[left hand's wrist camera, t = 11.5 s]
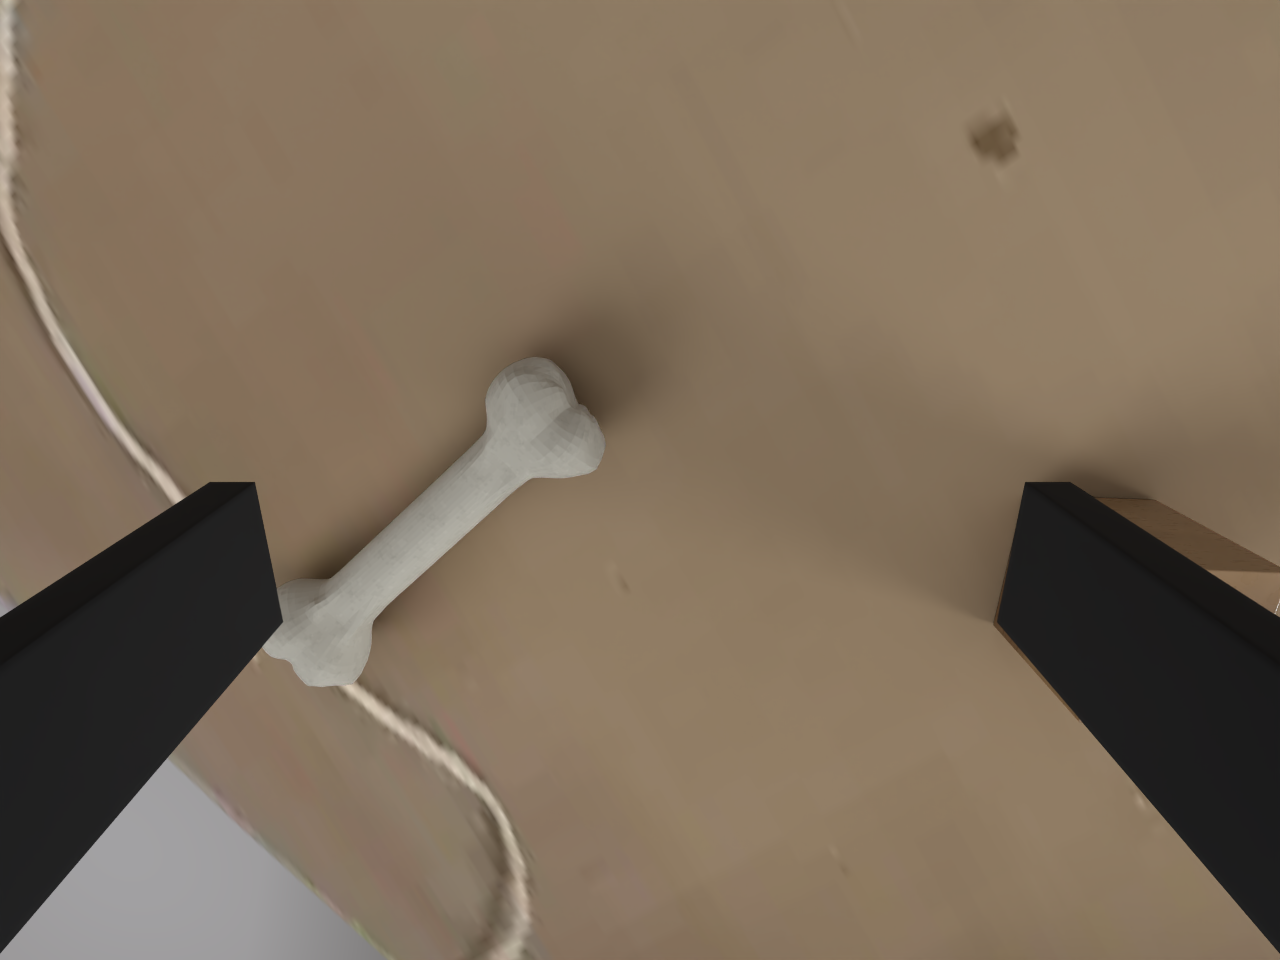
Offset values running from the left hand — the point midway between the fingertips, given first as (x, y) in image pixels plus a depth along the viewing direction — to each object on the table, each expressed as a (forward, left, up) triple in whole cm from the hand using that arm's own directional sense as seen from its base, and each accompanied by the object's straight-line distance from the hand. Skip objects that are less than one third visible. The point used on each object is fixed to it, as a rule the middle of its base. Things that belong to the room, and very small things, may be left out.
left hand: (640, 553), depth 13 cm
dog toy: (+3, -13, -23) cm, 26 cm away
